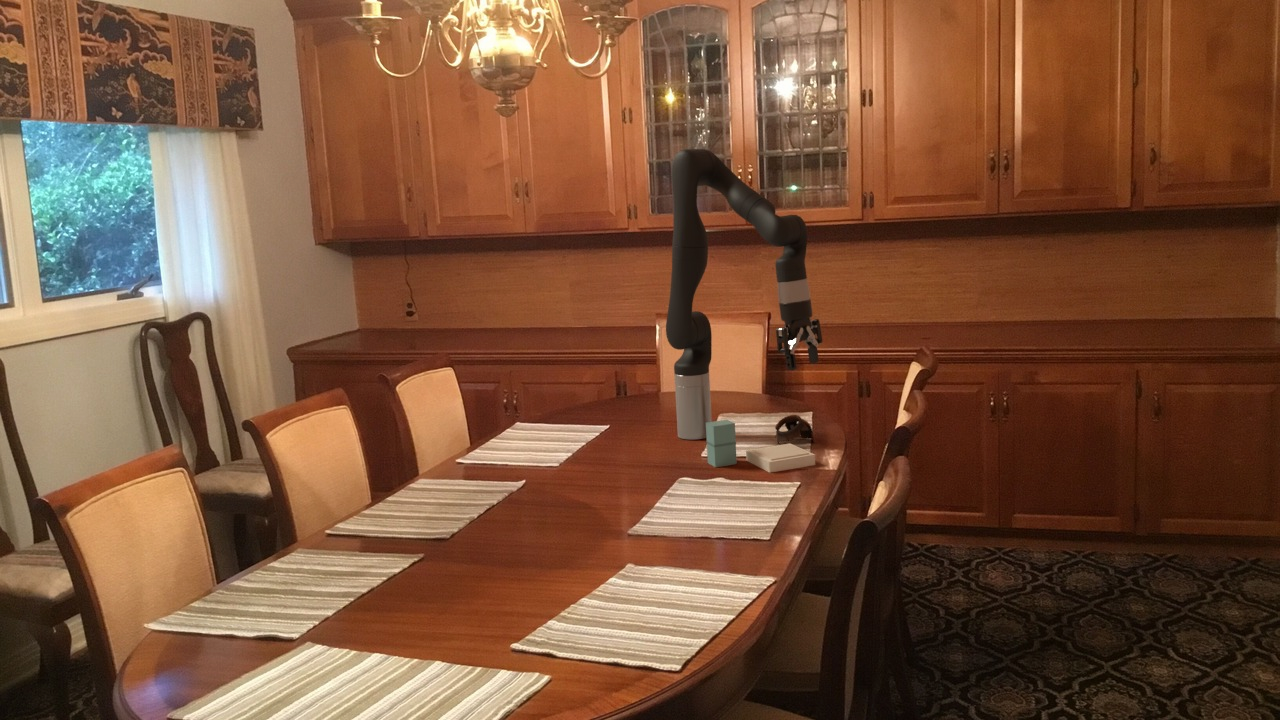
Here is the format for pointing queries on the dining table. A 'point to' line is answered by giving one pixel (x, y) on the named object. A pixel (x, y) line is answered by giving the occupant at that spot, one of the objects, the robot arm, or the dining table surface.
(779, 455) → the display plinth
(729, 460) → the teal rectangular box
